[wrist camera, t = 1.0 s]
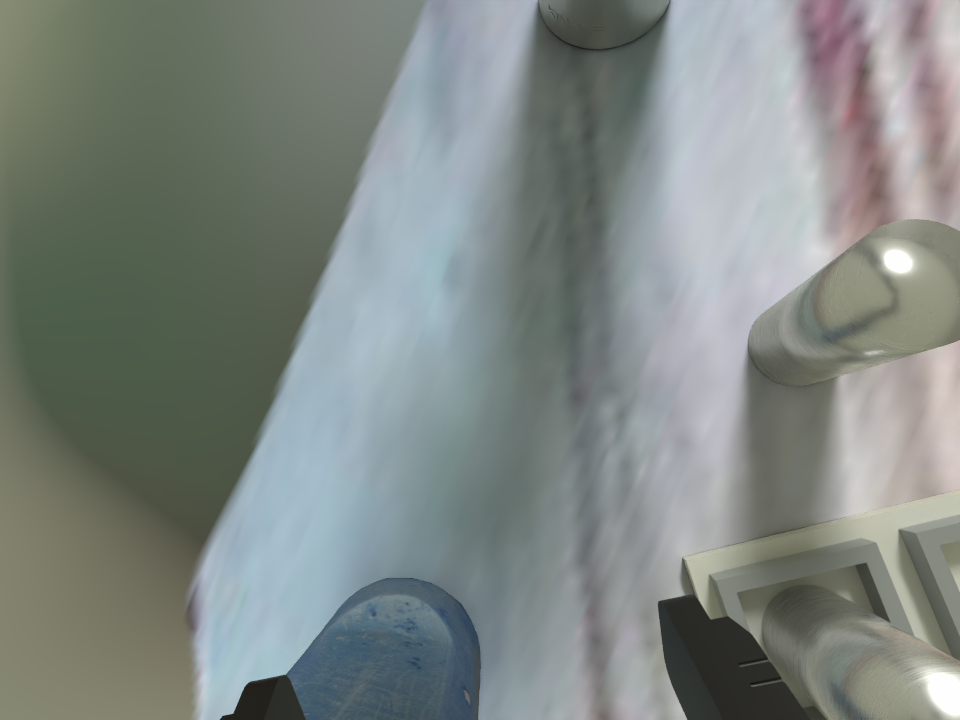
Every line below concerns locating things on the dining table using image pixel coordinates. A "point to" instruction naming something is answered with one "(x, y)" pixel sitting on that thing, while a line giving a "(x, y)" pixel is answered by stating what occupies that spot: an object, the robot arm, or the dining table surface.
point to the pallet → (848, 572)
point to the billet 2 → (857, 660)
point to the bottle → (392, 658)
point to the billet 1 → (865, 306)
